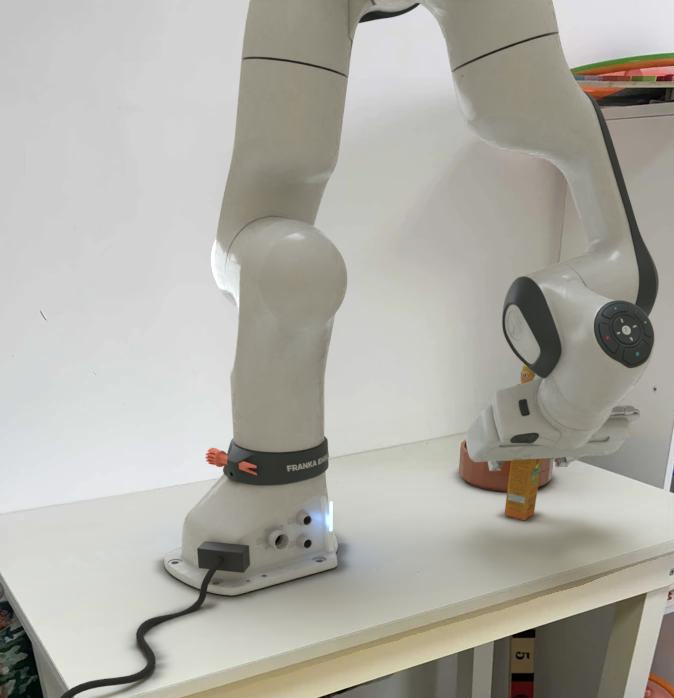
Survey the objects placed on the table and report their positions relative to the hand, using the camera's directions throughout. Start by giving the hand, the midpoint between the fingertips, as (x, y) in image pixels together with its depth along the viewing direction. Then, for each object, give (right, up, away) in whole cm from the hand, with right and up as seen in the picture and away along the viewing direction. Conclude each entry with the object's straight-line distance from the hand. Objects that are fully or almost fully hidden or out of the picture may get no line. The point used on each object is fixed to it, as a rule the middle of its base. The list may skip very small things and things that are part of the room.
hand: (526, 464), depth 117 cm
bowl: (+1, +1, +19) cm, 19 cm away
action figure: (+6, +7, +31) cm, 33 cm away
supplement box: (0, -7, +5) cm, 8 cm away
